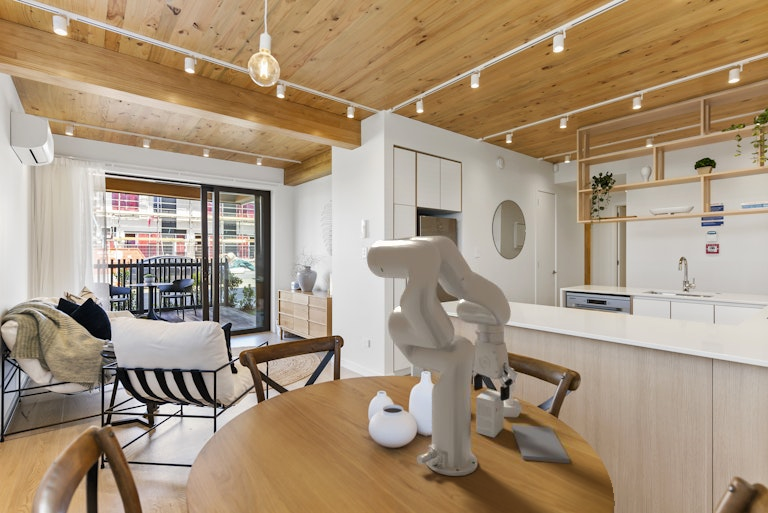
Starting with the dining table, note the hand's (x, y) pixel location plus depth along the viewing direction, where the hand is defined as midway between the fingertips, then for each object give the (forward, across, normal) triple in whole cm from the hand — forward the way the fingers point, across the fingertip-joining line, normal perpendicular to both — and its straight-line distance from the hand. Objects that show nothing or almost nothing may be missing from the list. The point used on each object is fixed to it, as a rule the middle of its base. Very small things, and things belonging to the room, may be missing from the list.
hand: (491, 394), depth 115 cm
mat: (+10, +13, +3) cm, 17 cm away
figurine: (+11, -4, +13) cm, 17 cm away
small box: (+10, 0, -1) cm, 11 cm away
